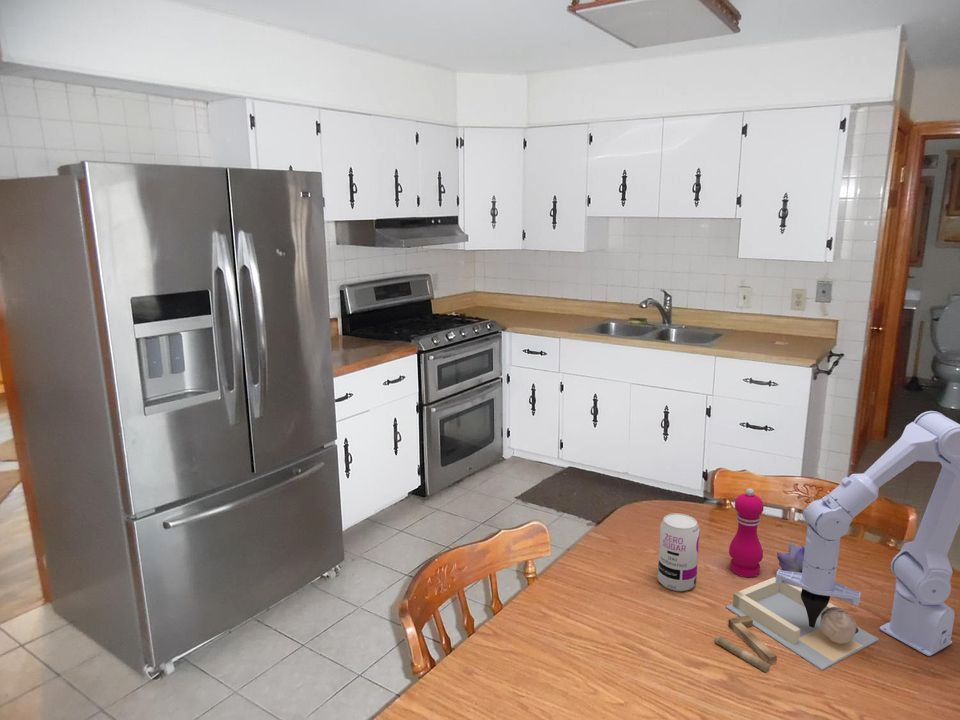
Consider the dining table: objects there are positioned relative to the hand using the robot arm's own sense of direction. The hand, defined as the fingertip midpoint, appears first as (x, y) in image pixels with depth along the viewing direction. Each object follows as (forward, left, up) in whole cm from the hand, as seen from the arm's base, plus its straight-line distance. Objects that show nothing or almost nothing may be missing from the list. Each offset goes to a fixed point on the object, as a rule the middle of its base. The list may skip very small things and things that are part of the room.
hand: (812, 624), depth 132 cm
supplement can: (+26, +10, -2) cm, 28 cm away
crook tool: (+3, +12, -2) cm, 12 cm away
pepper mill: (+22, -7, -2) cm, 23 cm away
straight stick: (+1, +18, 0) cm, 18 cm away
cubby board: (+3, 0, -2) cm, 3 cm away
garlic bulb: (-4, -1, -1) cm, 4 cm away
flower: (+13, -14, -2) cm, 19 cm away
